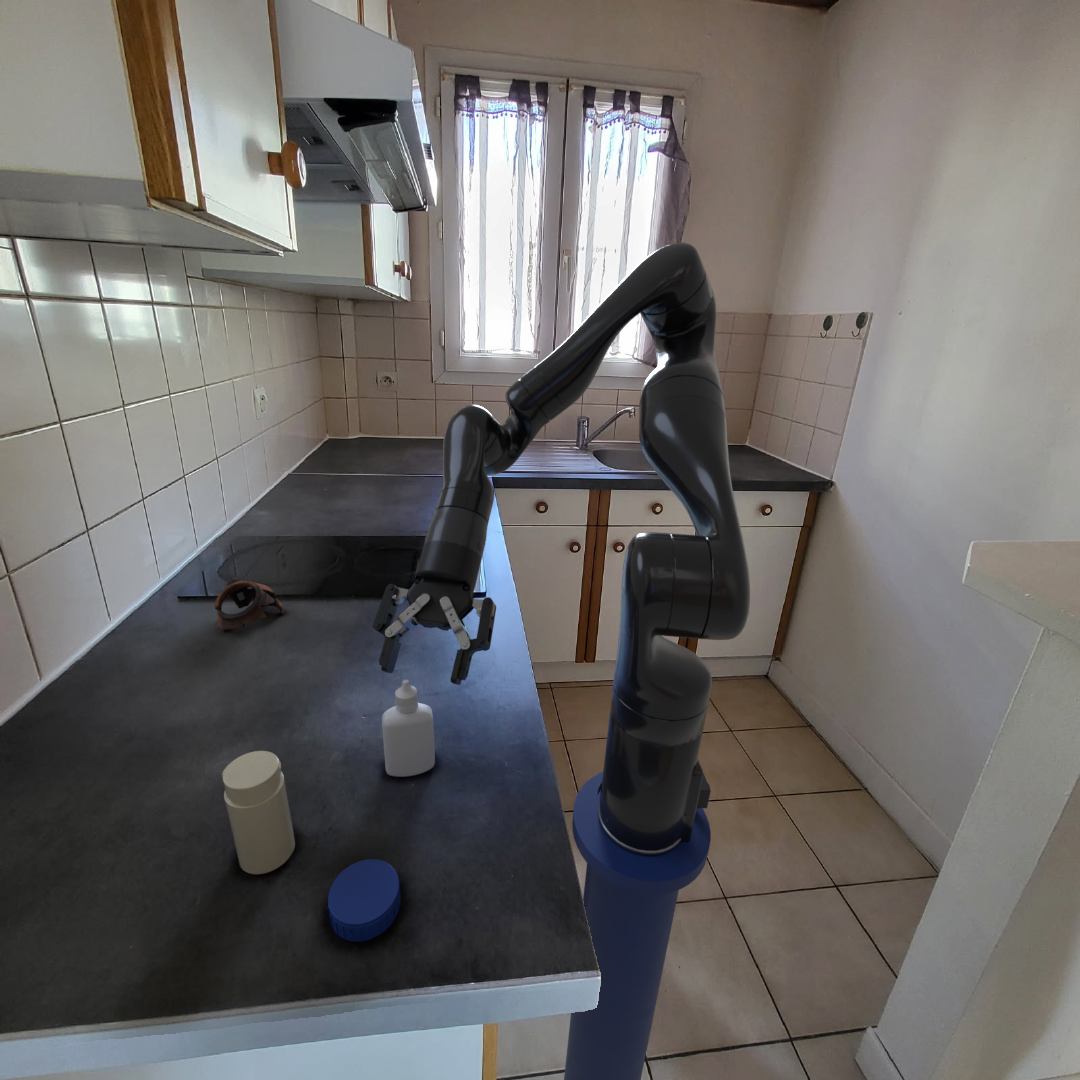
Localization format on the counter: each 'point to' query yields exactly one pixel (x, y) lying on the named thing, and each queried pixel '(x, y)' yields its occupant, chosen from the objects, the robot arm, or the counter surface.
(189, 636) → the counter surface
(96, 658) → the counter surface
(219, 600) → the brown curved piece
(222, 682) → the counter surface
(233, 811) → the jar
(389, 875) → the lid
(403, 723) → the eye dropper bottle
